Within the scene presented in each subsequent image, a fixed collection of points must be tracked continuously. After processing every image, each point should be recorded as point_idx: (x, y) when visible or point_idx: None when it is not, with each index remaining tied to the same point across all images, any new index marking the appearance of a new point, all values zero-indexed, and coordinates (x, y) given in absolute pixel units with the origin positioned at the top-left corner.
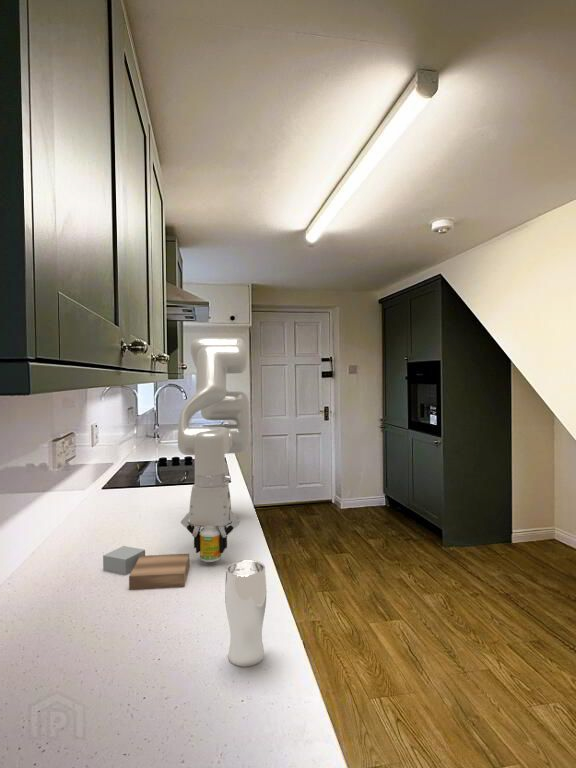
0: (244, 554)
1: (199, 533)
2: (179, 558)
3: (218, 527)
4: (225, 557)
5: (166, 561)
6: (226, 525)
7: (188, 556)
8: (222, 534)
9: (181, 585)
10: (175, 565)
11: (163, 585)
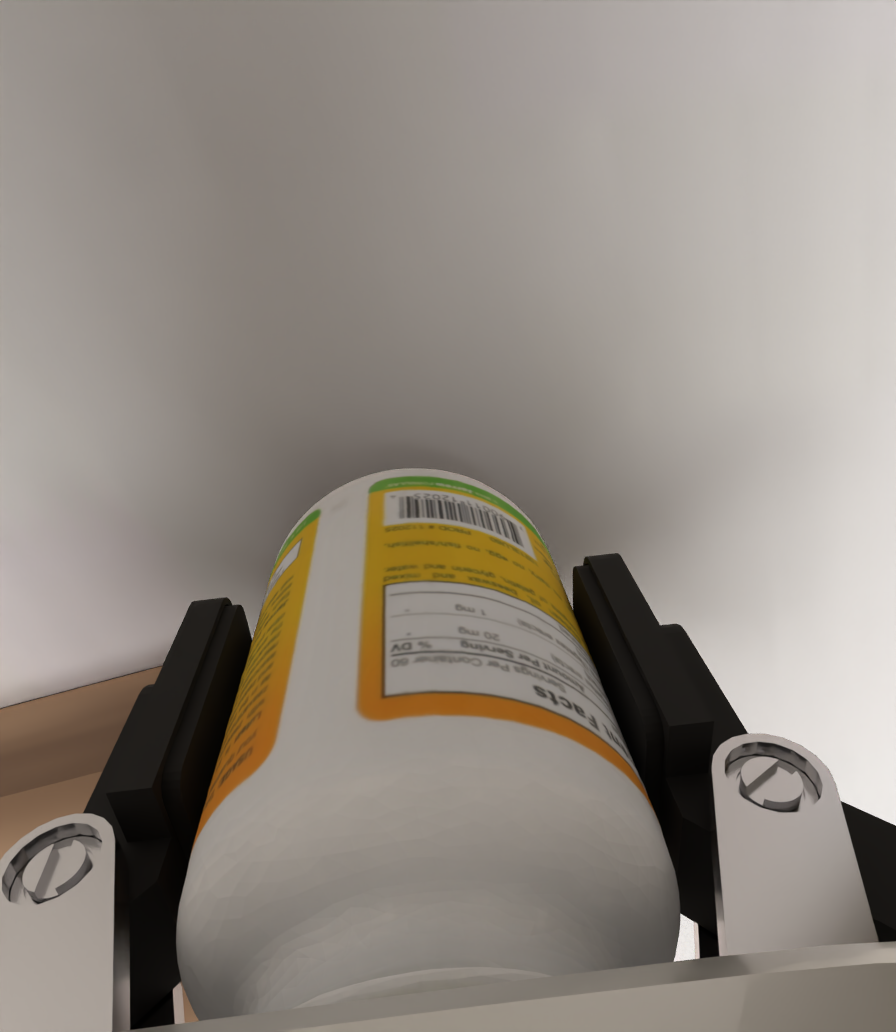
0: (811, 203)
1: (177, 909)
2: None
3: (620, 915)
4: (550, 361)
5: None
6: (870, 920)
7: None
8: (714, 932)
9: None
10: (190, 1009)
11: None
